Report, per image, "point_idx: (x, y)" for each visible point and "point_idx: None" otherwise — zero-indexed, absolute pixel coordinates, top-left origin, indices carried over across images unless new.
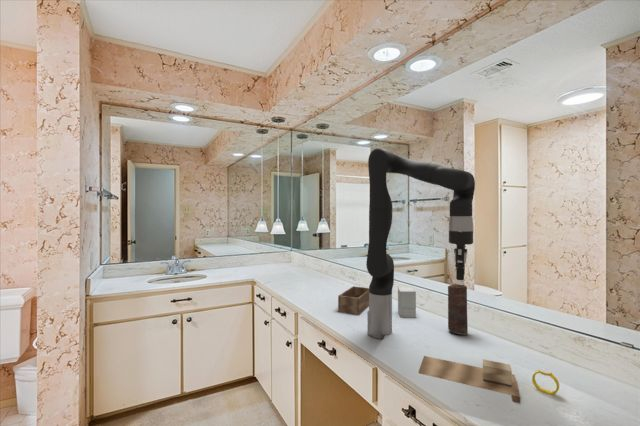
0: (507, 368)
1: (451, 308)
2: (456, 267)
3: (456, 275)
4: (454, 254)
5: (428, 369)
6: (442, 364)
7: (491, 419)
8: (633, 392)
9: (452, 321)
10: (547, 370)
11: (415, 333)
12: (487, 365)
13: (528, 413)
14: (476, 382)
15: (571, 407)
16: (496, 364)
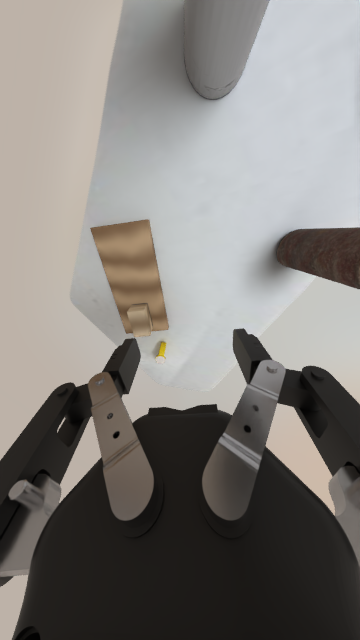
0: (138, 333)
1: (314, 241)
2: (93, 379)
3: (120, 348)
4: (136, 441)
5: (110, 239)
6: (139, 254)
7: (83, 312)
8: (201, 391)
9: (292, 242)
10: (162, 361)
11: (260, 160)
12: (130, 316)
13: (115, 335)
14: (123, 298)
15: (148, 359)
16: (139, 324)
